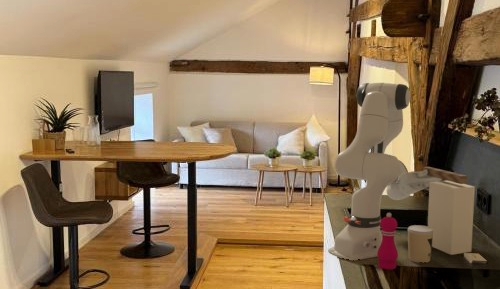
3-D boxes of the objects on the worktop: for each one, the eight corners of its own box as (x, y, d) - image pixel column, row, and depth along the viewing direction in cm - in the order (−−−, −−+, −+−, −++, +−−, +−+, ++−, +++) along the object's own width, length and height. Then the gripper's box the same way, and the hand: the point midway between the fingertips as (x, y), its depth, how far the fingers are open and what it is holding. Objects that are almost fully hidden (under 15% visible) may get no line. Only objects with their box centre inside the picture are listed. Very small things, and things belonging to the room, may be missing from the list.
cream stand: (471, 251, 216) (474, 186, 213) (450, 254, 213) (454, 188, 209) (446, 241, 229) (449, 180, 226) (426, 244, 226) (429, 181, 222)
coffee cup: (433, 264, 202) (435, 232, 201) (407, 262, 204) (408, 231, 202) (430, 256, 211) (432, 225, 210) (405, 254, 213) (406, 224, 211)
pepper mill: (391, 271, 195) (393, 216, 192) (373, 266, 199) (374, 212, 197) (401, 266, 200) (403, 212, 197) (383, 261, 205) (384, 209, 202)
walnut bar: (467, 183, 212) (467, 175, 211) (460, 184, 211) (461, 176, 210) (428, 173, 232) (429, 166, 232) (423, 174, 231) (423, 167, 231)
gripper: (391, 176, 237) (409, 165, 225) (429, 173, 245) (449, 162, 233) (394, 190, 235) (413, 179, 223) (433, 187, 242) (453, 176, 230)
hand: (432, 170), depth 228 cm, fingers closed on walnut bar, 3 cm apart
